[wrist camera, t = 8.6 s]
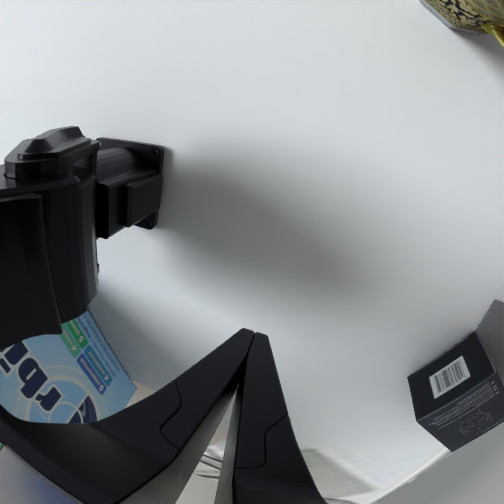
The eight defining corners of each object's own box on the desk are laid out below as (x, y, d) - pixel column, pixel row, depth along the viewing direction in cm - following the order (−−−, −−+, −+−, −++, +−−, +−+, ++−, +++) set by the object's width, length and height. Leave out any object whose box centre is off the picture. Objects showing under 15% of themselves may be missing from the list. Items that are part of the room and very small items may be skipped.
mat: (423, 398, 24) (424, 401, 24) (494, 299, 18) (495, 301, 18) (487, 404, 23) (488, 405, 23) (551, 319, 17) (552, 321, 17)
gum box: (42, 260, 28) (-97, 374, 8) (64, 253, 26) (-96, 386, 6) (114, 385, 35) (31, 507, 14) (140, 389, 33) (55, 527, 13)
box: (405, 374, 23) (442, 415, 24) (414, 422, 18) (451, 454, 19) (475, 327, 20) (499, 378, 21) (498, 370, 14) (514, 416, 16)
